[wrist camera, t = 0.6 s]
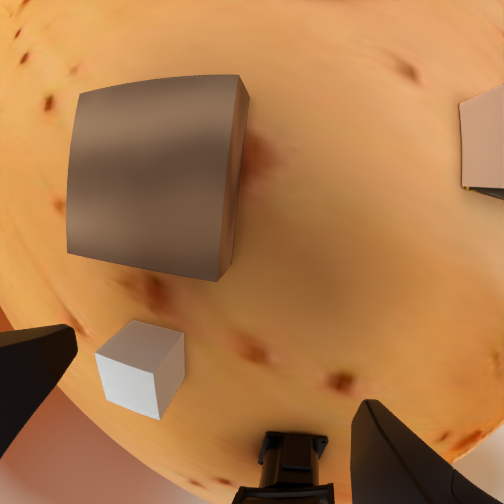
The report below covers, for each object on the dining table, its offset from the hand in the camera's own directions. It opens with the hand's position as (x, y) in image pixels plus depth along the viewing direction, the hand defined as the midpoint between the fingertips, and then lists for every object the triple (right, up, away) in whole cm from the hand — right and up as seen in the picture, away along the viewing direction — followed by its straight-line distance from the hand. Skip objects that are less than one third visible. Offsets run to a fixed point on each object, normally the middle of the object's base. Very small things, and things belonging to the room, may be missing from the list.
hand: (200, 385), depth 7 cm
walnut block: (-5, +9, +12) cm, 16 cm away
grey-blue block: (-7, -5, +16) cm, 18 cm away
